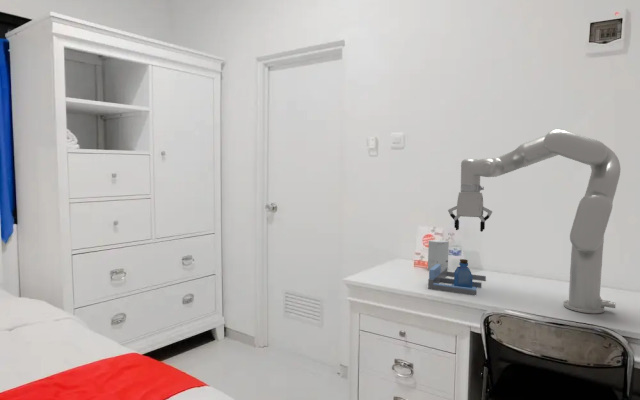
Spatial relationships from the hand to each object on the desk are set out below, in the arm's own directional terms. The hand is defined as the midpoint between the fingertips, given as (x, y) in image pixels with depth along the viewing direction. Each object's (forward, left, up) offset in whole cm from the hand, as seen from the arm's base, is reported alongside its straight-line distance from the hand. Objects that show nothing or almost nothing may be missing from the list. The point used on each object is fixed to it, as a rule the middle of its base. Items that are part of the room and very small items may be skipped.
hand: (469, 230), depth 178 cm
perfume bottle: (+2, +1, -25) cm, 25 cm away
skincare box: (+19, -27, -25) cm, 41 cm away
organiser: (+5, -5, -25) cm, 26 cm away
